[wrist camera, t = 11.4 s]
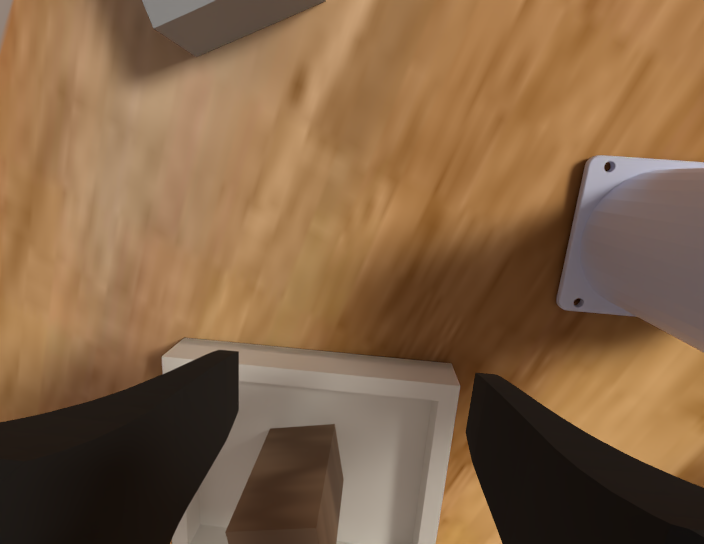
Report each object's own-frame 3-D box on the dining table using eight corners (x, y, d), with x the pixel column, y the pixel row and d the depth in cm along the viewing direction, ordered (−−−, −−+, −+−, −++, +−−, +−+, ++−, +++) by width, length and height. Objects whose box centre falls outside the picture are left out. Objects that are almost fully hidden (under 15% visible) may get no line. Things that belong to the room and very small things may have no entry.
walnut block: (334, 423, 23) (316, 527, 16) (343, 479, 24) (329, 600, 17) (270, 428, 23) (225, 532, 16) (281, 483, 24) (243, 602, 17)
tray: (451, 363, 22) (460, 385, 20) (423, 552, 26) (428, 591, 23) (184, 337, 23) (161, 356, 21) (191, 524, 26) (173, 559, 24)
